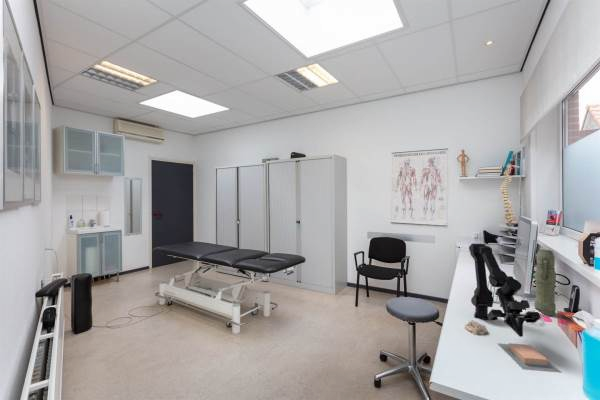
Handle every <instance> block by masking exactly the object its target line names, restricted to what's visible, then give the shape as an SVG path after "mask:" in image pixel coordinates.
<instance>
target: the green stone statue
mask: <svg viewBox="0 0 600 400" xmlns="http://www.w3.org/2000/svg"><path fill="white" fill-rule="evenodd" d="M555 258H556V257H555V253H554V252H553V251H552V250H550V249H539V250H538V251H537V254H536V268H535V270H534V271H535V272H534V280H535V299H534V310H535V309H536V310H538V311H539V312H541V313H542V314H544V315H543V316H545V315H546V316H547V317H555V316H556V309H557V307H556V303H555V296H556V295H555V293H556V292H555V289H556V288H555V285H556V284H557V274H556V271H555V269H556V268H555V263H556V259H555ZM546 316H545V317H546Z"/></svg>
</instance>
